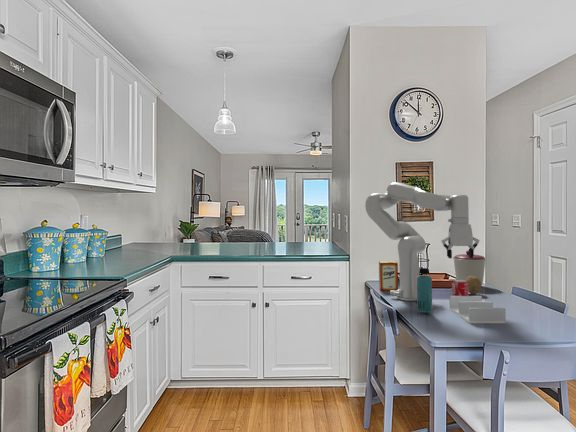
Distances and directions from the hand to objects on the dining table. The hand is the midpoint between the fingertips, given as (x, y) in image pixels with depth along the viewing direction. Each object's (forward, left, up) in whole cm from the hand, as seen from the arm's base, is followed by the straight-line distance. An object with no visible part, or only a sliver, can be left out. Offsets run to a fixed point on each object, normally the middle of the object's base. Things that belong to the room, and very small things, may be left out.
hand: (460, 257), depth 193 cm
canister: (+23, +47, -23) cm, 57 cm away
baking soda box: (-26, +39, -23) cm, 52 cm away
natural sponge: (+15, +25, -23) cm, 37 cm away
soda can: (0, 0, -23) cm, 23 cm away
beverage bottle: (-21, -14, -23) cm, 34 cm away
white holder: (0, -17, -23) cm, 28 cm away
